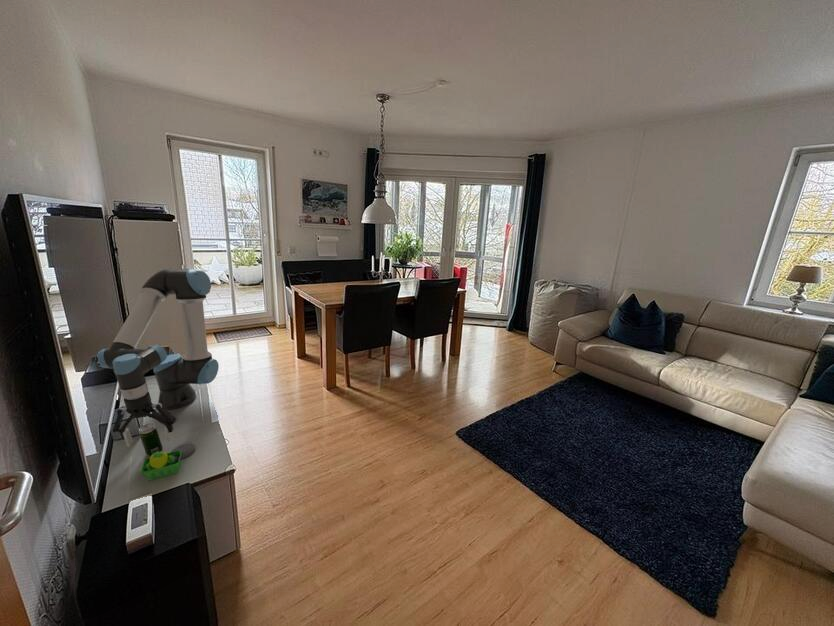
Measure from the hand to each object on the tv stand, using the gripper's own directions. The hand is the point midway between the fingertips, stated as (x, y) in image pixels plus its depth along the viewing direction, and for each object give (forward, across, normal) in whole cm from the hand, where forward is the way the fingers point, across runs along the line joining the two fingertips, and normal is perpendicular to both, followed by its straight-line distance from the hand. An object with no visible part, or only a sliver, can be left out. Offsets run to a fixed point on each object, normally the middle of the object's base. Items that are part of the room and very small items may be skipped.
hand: (150, 441), depth 135 cm
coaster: (+5, +11, -3) cm, 13 cm away
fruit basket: (+6, +8, -12) cm, 16 cm away
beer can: (+6, 0, 0) cm, 6 cm away
